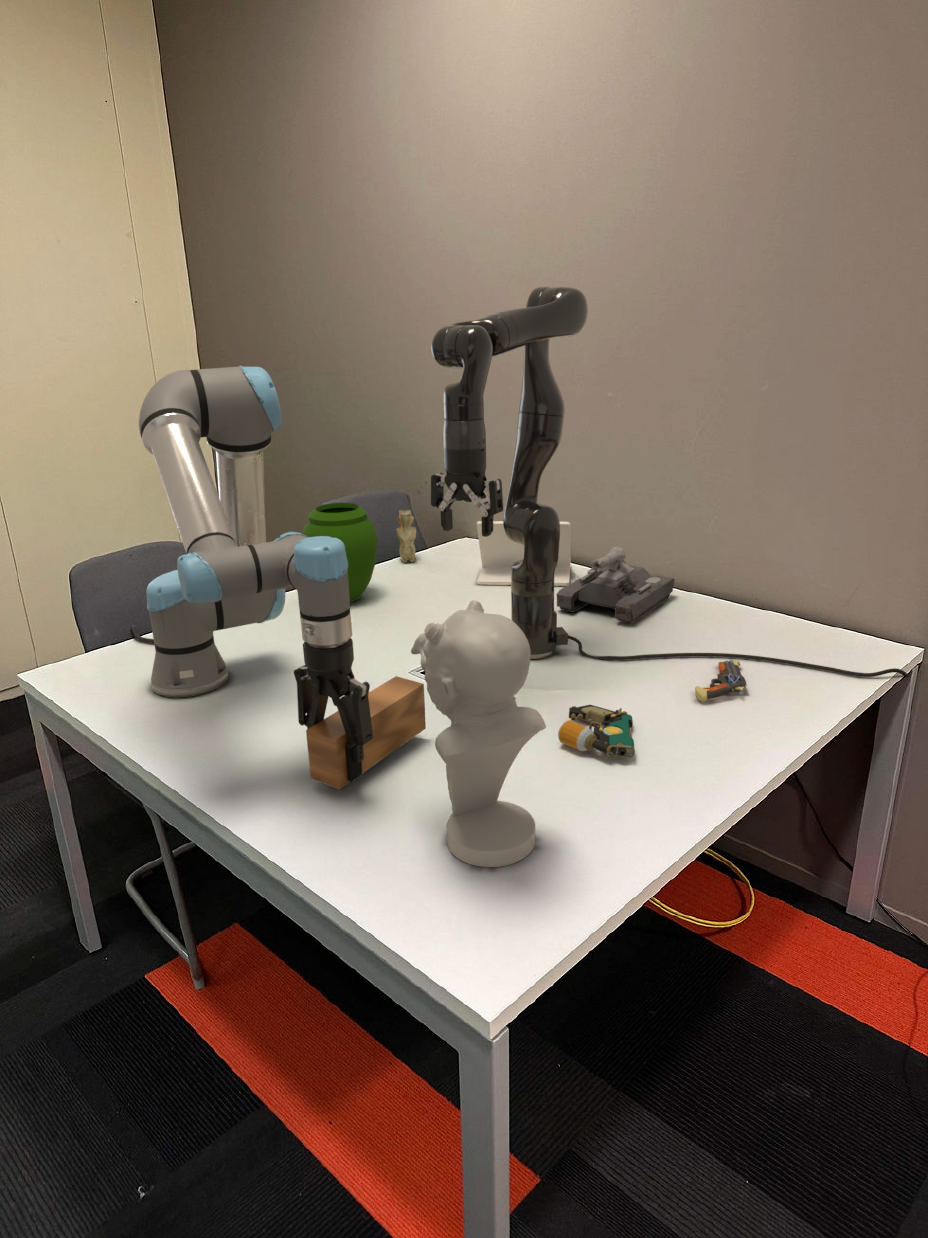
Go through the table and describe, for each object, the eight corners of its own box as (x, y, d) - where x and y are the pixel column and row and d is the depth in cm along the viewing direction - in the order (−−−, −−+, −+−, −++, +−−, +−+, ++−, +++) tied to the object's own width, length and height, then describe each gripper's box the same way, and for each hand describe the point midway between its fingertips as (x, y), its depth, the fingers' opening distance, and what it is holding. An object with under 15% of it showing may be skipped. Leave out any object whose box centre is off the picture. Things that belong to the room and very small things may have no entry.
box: (398, 720, 154) (396, 675, 151) (425, 728, 151) (424, 683, 148) (310, 778, 137) (305, 729, 133) (339, 789, 134) (335, 740, 130)
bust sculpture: (481, 772, 140) (476, 569, 128) (565, 848, 120) (569, 617, 108) (392, 800, 134) (378, 588, 121) (465, 886, 114) (457, 642, 101)
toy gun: (696, 691, 161) (751, 688, 159) (689, 658, 179) (739, 655, 177) (697, 705, 162) (752, 702, 159) (690, 670, 179) (740, 667, 177)
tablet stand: (569, 585, 229) (570, 524, 223) (476, 584, 232) (475, 523, 226) (570, 566, 246) (571, 508, 240) (484, 564, 249) (483, 507, 243)
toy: (603, 584, 229) (605, 530, 224) (673, 597, 218) (677, 540, 213) (555, 612, 210) (556, 553, 205) (630, 627, 199) (633, 566, 194)
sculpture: (417, 556, 259) (415, 507, 254) (417, 563, 252) (415, 513, 247) (398, 557, 259) (395, 508, 254) (398, 564, 252) (395, 514, 247)
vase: (396, 593, 227) (391, 503, 219) (349, 616, 212) (341, 520, 203) (340, 582, 237) (333, 496, 228) (291, 603, 222) (281, 511, 213)
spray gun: (574, 713, 161) (653, 730, 155) (544, 749, 146) (630, 769, 140) (576, 692, 159) (656, 709, 153) (546, 727, 145) (632, 746, 139)
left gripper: (264, 635, 131) (279, 765, 140) (360, 661, 121) (370, 800, 130) (298, 619, 137) (311, 745, 145) (392, 643, 127) (400, 777, 135)
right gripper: (419, 444, 152) (423, 533, 158) (487, 450, 145) (489, 542, 150) (443, 438, 158) (446, 524, 164) (510, 443, 150) (510, 532, 156)
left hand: (338, 771), depth 138 cm, fingers closed on box, 6 cm apart
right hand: (467, 532), depth 157 cm, fingers open, 8 cm apart
